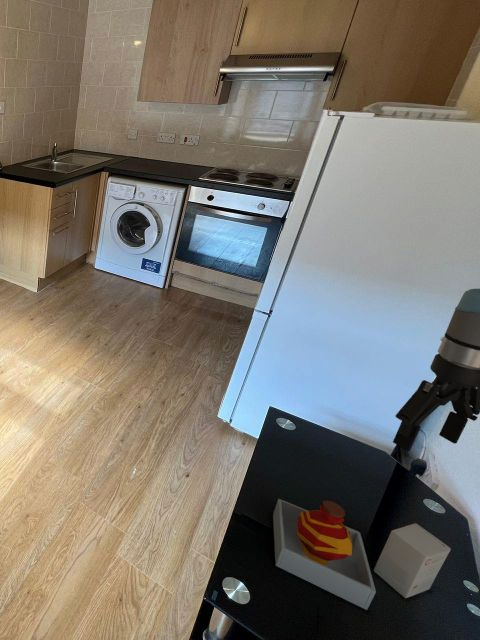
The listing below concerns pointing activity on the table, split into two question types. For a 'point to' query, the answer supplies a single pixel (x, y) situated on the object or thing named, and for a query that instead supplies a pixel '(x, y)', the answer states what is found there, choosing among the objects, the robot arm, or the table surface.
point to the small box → (411, 560)
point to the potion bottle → (324, 533)
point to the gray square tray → (337, 577)
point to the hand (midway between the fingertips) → (424, 442)
